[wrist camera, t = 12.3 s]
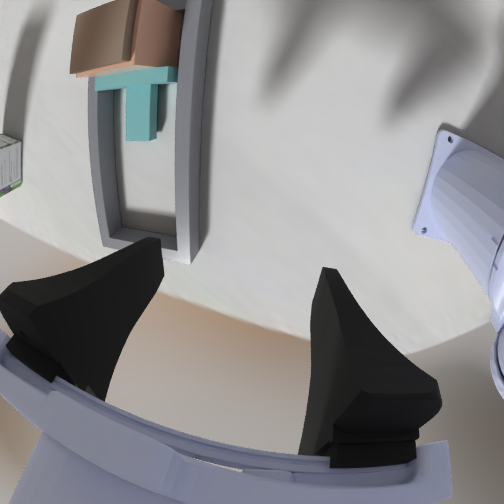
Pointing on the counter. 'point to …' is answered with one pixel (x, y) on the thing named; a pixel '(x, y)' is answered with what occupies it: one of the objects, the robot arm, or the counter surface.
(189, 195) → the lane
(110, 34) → the tan cardboard cube box
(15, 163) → the syrup box
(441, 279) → the counter surface
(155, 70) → the pusher
